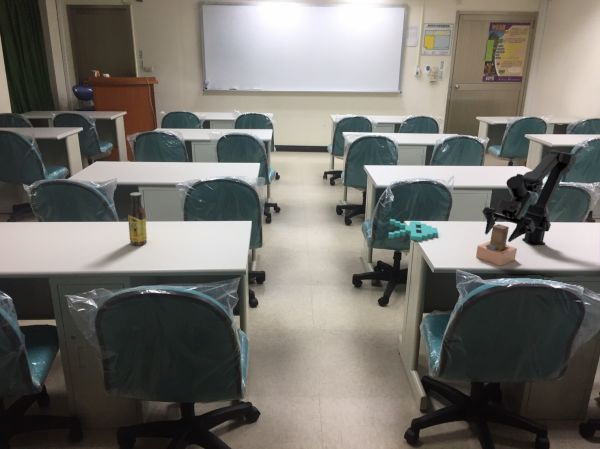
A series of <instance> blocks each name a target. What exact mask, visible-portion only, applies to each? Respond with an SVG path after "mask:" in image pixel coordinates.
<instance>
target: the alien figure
mask: <svg viewBox="0 0 600 449" xmlns="http://www.w3.org/2000/svg"><path fill="white" fill-rule="evenodd" d="M389 225H392V226H393V225H394V227H395V228H396V227H399V230H394V232H390V231H389V232H388V237H387V238H388V239H395V238H400V236H402V237H406V235H409V237H410V241H416V242H422V240H424V241H425V240H426V241H427V240H428V239H433V238H438V235H439V230H438V227H433V226H432V225H429V224H427V223H421V221H417V220H416V221H415V220H410V221H409V225H407V224H406V223H401V221H399V220H398V221H397V220H396V219H395V218H394V219H392V218H390V219H389Z"/></svg>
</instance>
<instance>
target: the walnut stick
mask: <svg viewBox="0 0 600 449" xmlns="http://www.w3.org/2000/svg"><path fill="white" fill-rule="evenodd" d="M509 228H510V227H509V226H506V225H503V224H499V223H497V224H495V225H494V226H493V228H492V229H491V236H490V240H489V241H490V244H491V245H494V246H497V247H496V250H497V251H500V252H501V251H504V250H505V246H506V245H507V241H508V240H507V239H508V233H509Z"/></svg>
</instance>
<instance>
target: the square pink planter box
mask: <svg viewBox="0 0 600 449" xmlns="http://www.w3.org/2000/svg"><path fill="white" fill-rule="evenodd" d="M490 241H491V240H489V241H487V242H484V243H482V244H479V245H477V249H476V252H475V253H476V256H475V258H477V259H480V260H483V261H486V262H489V263H492V264H494V265H498V266H503V265H505V264H508V263H511V262H512V261H515V260H516V255H517V251H518V250H517V248H516V247H515V246H510V245H508V244H506V246H505V250H504V251H501V252H500V251H497V250H496V247H497V246H494V245H491V244H490Z"/></svg>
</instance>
